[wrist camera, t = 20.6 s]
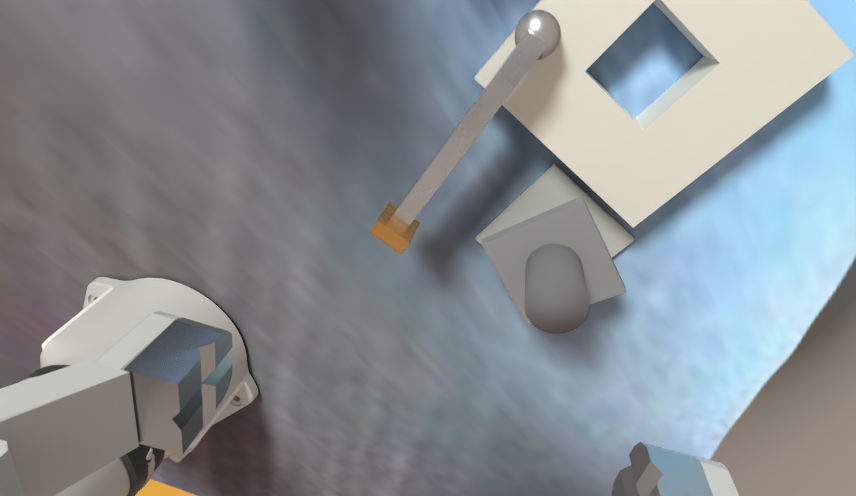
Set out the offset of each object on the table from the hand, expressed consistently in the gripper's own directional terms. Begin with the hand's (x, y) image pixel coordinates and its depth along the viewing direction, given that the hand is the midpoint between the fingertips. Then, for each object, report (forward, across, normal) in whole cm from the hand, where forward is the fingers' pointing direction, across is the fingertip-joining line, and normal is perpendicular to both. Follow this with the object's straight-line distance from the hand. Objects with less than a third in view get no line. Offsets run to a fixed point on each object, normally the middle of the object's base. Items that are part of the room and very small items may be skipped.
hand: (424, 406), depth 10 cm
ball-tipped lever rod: (+24, +1, +1) cm, 24 cm away
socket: (+27, -8, -5) cm, 28 cm away
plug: (+26, -6, +8) cm, 28 cm away
